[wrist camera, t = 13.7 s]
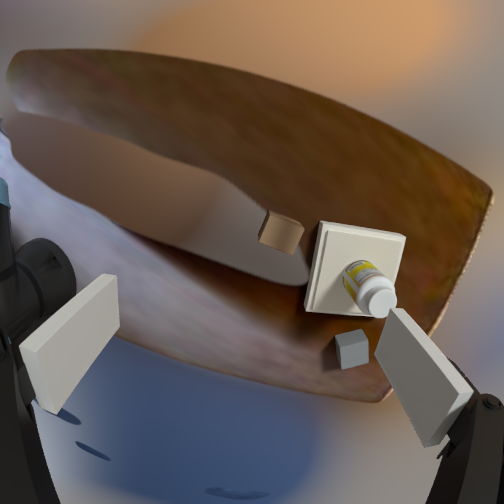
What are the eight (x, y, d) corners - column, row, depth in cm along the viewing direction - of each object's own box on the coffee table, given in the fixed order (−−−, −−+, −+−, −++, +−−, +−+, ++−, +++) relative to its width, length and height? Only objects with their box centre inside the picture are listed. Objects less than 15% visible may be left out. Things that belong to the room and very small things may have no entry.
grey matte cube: (336, 356, 52) (341, 369, 48) (334, 335, 51) (339, 347, 47) (362, 350, 52) (368, 362, 48) (361, 328, 51) (368, 340, 47)
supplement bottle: (364, 296, 45) (388, 328, 36) (335, 285, 45) (354, 317, 35) (380, 265, 44) (409, 291, 34) (351, 253, 43) (376, 277, 34)
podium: (303, 304, 49) (306, 313, 46) (319, 220, 45) (324, 224, 42) (379, 310, 49) (385, 318, 47) (399, 233, 46) (407, 237, 43)
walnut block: (258, 233, 46) (258, 242, 41) (268, 209, 45) (270, 214, 40) (288, 246, 46) (292, 255, 42) (299, 222, 45) (304, 229, 41)
